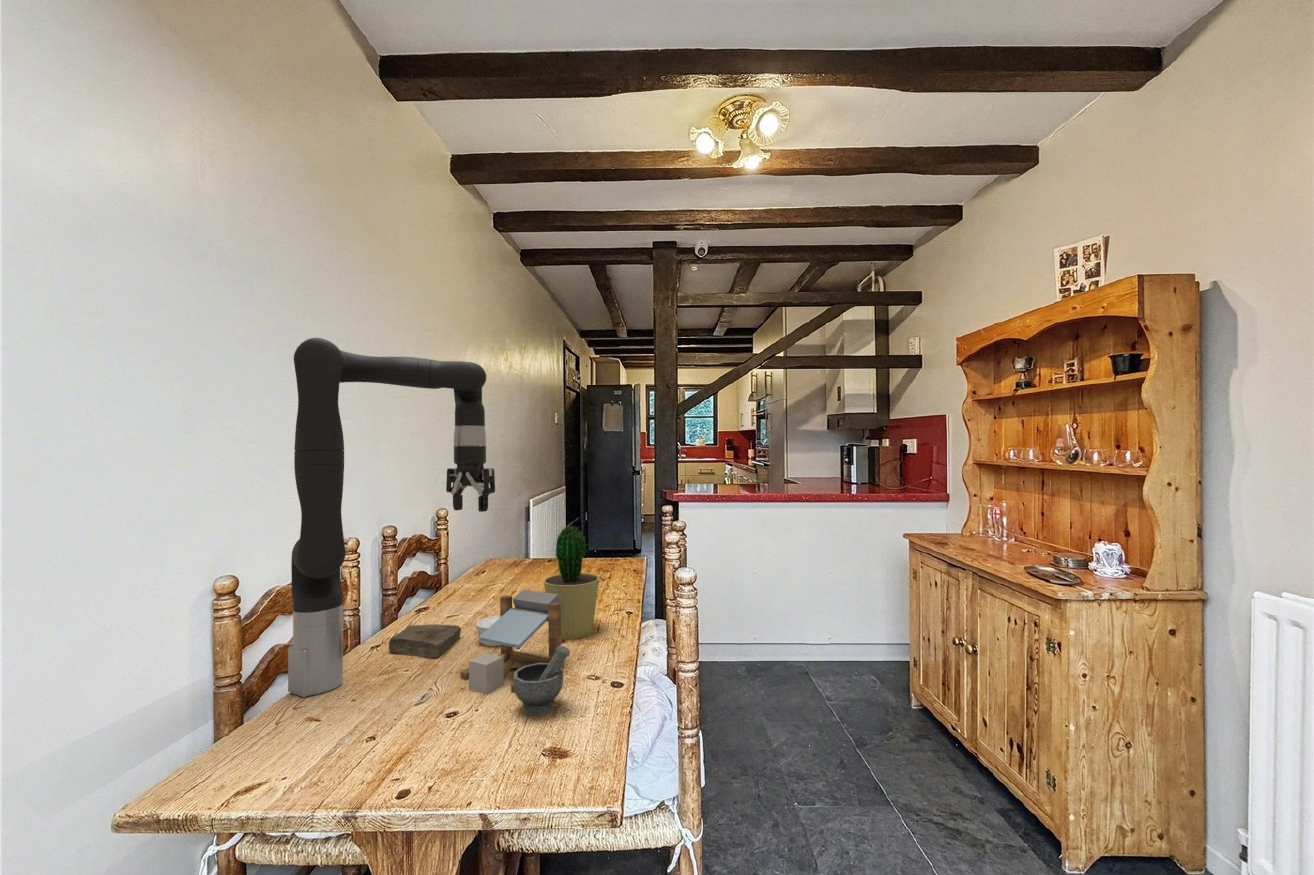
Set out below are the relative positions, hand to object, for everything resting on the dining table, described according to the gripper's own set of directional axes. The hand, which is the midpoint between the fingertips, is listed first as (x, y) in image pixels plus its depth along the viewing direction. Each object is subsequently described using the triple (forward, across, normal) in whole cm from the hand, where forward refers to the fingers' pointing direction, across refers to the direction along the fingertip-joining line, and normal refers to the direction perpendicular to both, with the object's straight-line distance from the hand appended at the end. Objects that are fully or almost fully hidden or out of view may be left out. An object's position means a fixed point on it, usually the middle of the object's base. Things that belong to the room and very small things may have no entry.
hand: (470, 510), depth 132 cm
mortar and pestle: (+36, +32, -12) cm, 50 cm away
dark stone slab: (+37, -18, +1) cm, 41 cm away
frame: (+36, +15, -2) cm, 39 cm away
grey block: (+30, +15, -10) cm, 35 cm away
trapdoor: (+27, +15, +2) cm, 31 cm away
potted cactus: (+36, +10, +27) cm, 46 cm away
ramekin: (+36, -4, +13) cm, 39 cm away
